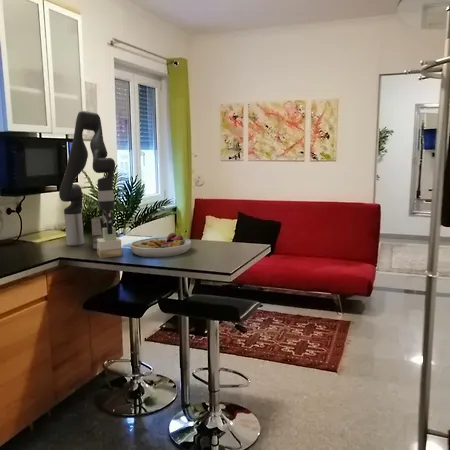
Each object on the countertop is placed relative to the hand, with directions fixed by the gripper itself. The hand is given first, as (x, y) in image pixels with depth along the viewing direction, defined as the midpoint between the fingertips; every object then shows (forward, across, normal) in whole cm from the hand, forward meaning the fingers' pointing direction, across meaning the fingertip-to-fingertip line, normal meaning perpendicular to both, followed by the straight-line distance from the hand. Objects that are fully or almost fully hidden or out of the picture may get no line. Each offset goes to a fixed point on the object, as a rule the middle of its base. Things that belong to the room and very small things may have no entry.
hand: (108, 232), depth 226 cm
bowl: (+11, -7, -24) cm, 27 cm away
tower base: (+11, 0, 0) cm, 11 cm away
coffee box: (+11, +22, 0) cm, 25 cm away
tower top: (+7, 0, 0) cm, 7 cm away
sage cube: (+3, 0, 0) cm, 3 cm away
